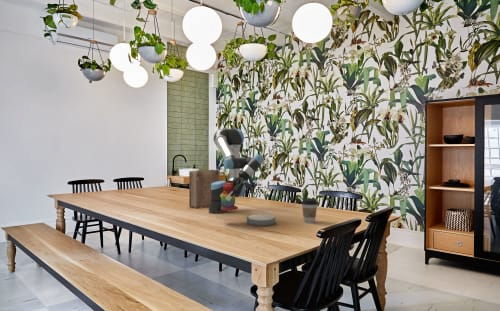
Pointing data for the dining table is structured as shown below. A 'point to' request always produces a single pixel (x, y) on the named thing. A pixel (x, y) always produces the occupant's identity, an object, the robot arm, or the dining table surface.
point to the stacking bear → (225, 203)
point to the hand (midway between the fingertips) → (224, 198)
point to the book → (201, 187)
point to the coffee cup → (309, 210)
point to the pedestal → (261, 220)
